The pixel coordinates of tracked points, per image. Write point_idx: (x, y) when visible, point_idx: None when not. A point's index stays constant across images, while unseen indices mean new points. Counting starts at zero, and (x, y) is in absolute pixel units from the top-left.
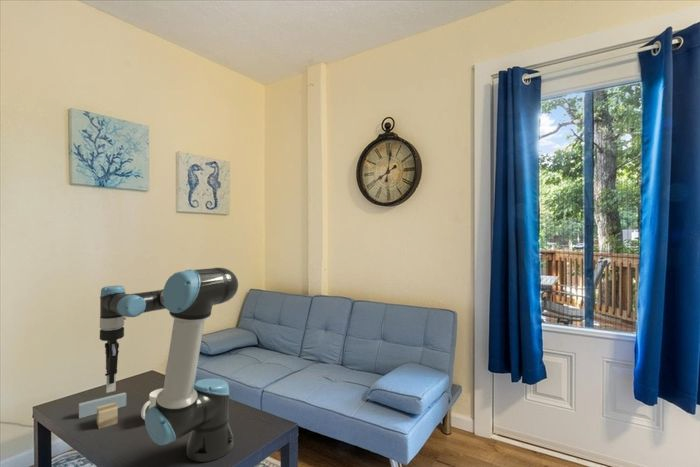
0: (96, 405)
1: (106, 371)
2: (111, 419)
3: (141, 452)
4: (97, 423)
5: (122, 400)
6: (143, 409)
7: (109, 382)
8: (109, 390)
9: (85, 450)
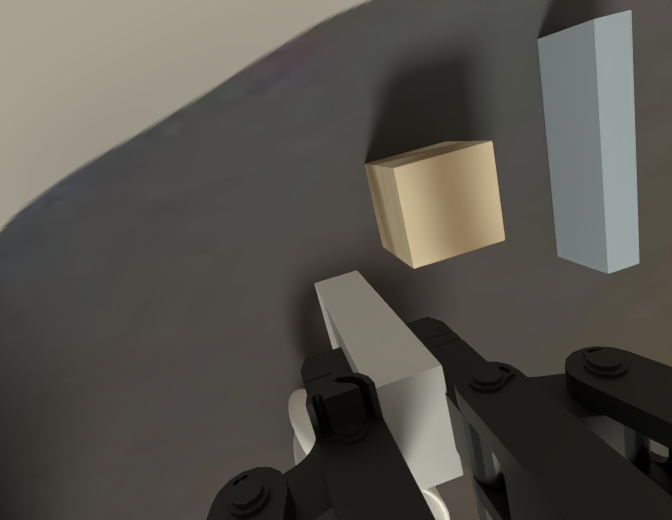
0: (579, 119)
1: (477, 382)
2: (386, 225)
3: (19, 407)
4: (417, 150)
5: (581, 247)
6: (294, 428)
7: (314, 366)
8: (323, 312)
9: (141, 139)
